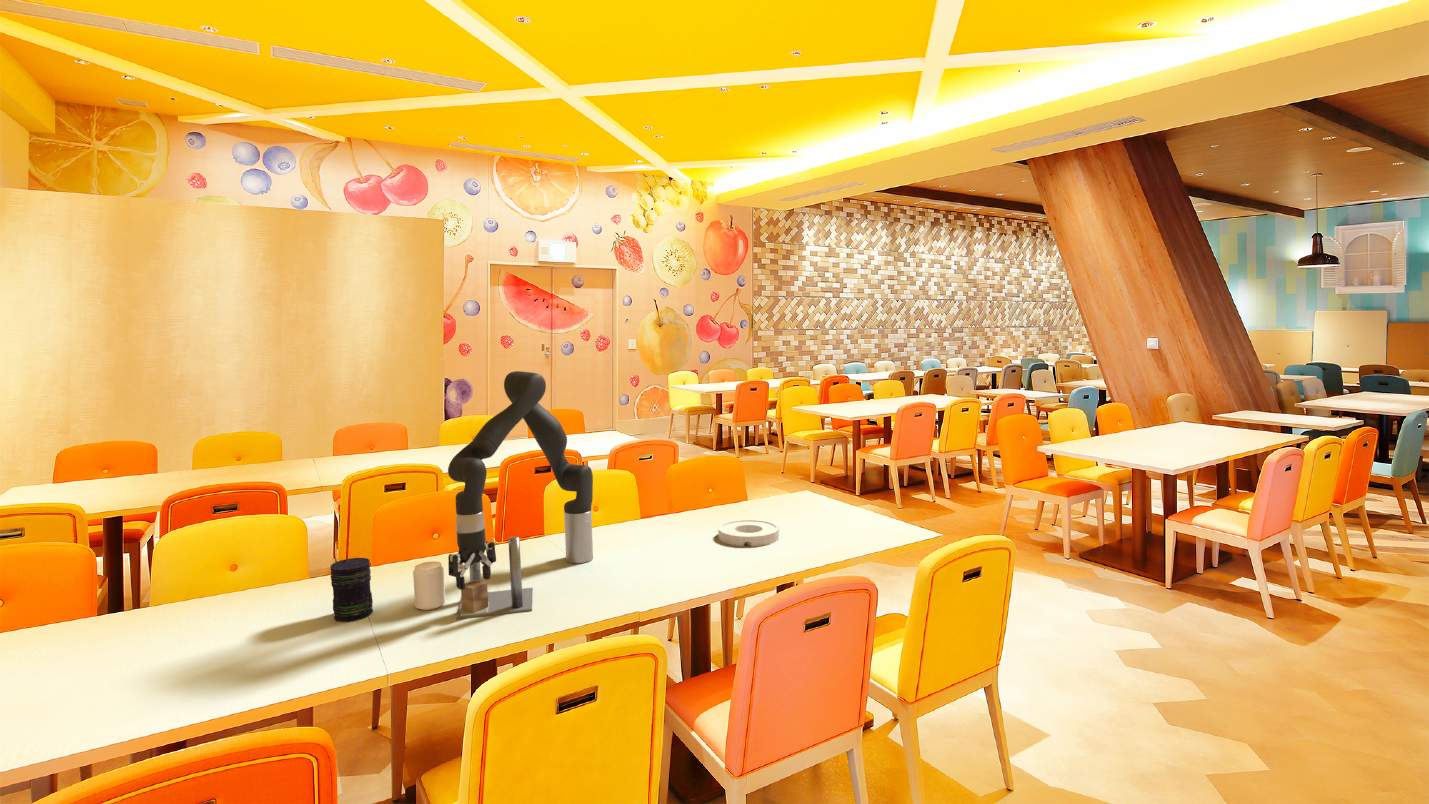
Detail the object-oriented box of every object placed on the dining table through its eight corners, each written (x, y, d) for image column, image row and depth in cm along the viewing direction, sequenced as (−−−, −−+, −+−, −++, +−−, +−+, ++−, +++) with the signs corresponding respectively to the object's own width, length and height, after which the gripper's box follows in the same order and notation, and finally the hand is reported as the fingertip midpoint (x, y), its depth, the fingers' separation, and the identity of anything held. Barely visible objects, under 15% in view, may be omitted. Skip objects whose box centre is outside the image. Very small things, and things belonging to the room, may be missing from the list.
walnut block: (476, 603, 194) (475, 579, 194) (488, 606, 192) (487, 582, 191) (462, 609, 190) (460, 585, 189) (473, 613, 187) (472, 588, 187)
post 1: (471, 595, 201) (467, 529, 200) (482, 594, 202) (478, 529, 200) (470, 599, 199) (466, 532, 197) (481, 598, 199) (477, 531, 197)
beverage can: (451, 601, 199) (449, 561, 198) (433, 612, 191) (430, 571, 190) (428, 599, 201) (425, 559, 200) (409, 609, 193) (406, 569, 192)
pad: (463, 606, 193) (463, 605, 193) (488, 603, 195) (488, 602, 195) (461, 615, 187) (460, 614, 187) (486, 613, 188) (486, 611, 188)
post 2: (512, 605, 194) (508, 536, 192) (523, 603, 194) (519, 535, 193) (511, 609, 191) (508, 539, 189) (522, 607, 192) (519, 538, 190)
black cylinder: (380, 612, 192) (377, 560, 190) (347, 625, 183) (343, 571, 182) (359, 605, 197) (356, 555, 195) (326, 617, 188) (322, 565, 187)
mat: (463, 596, 202) (463, 593, 202) (532, 589, 207) (532, 586, 207) (456, 619, 186) (456, 615, 186) (531, 610, 191) (531, 607, 191)
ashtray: (750, 525, 274) (750, 516, 274) (792, 538, 256) (791, 528, 256) (706, 537, 259) (705, 527, 259) (746, 551, 242) (746, 540, 241)
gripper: (482, 519, 197) (485, 573, 198) (439, 532, 185) (443, 590, 186) (500, 523, 193) (503, 578, 194) (457, 536, 181) (461, 595, 182)
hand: (474, 584), depth 190 cm, fingers open, 8 cm apart
